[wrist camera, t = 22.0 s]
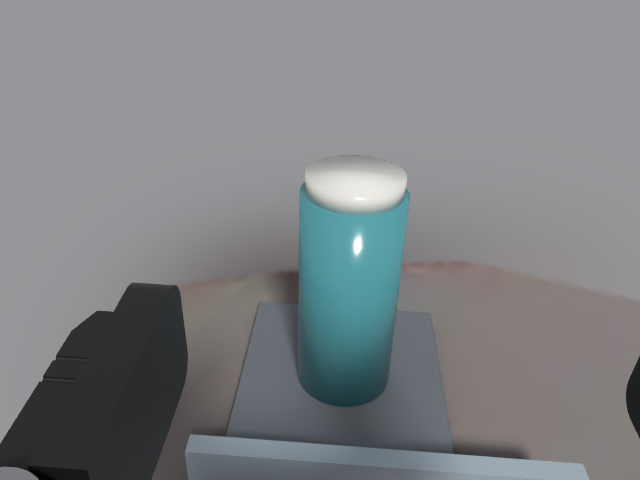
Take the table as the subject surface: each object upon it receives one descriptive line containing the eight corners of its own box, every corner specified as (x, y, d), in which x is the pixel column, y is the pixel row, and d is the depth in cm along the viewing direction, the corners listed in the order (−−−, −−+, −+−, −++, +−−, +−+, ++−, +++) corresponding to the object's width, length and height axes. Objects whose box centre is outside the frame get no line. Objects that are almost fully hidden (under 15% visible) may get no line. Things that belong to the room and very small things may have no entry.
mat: (428, 324, 41) (430, 312, 40) (453, 483, 30) (456, 470, 29) (260, 312, 41) (259, 301, 41) (222, 465, 30) (221, 452, 30)
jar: (387, 346, 37) (408, 156, 31) (390, 410, 32) (416, 201, 26) (301, 340, 37) (305, 150, 31) (292, 403, 33) (294, 194, 26)
